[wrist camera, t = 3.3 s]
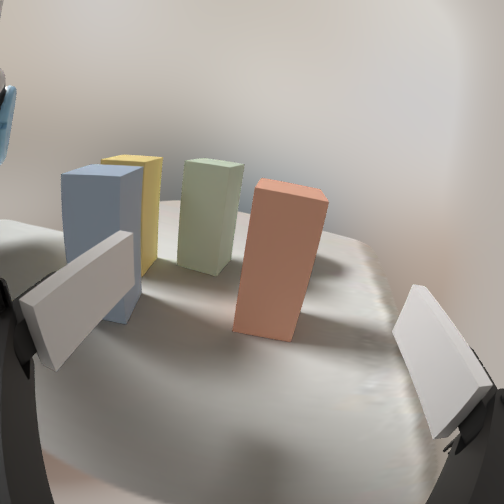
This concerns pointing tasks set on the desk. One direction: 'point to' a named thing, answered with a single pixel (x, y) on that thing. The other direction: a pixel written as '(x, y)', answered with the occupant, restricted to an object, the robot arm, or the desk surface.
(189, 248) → the sage pillar
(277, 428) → the desk surface
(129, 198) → the slate pillar
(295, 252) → the terracotta pillar
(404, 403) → the desk surface
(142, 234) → the mustard pillar
